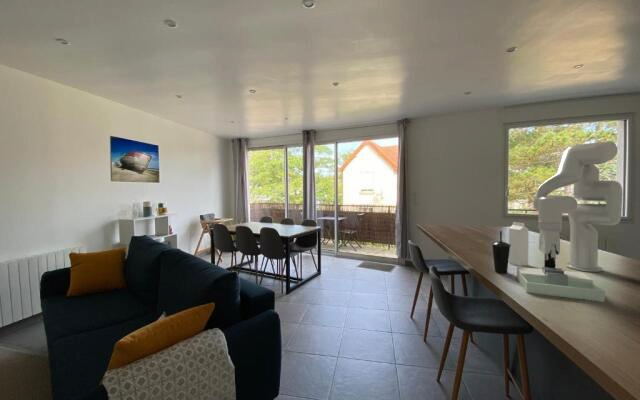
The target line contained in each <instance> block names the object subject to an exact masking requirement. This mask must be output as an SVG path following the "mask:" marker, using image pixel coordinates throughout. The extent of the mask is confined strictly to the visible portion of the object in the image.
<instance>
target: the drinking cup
mask: <svg viewBox="0 0 640 400" xmlns="http://www.w3.org/2000/svg"><path fill="white" fill-rule="evenodd" d="M502 232H503V231H502V230H500V231H499V241H497V240H496V241H494V242H491V248H492V257H493V266H494V272H495V273H497V274H508V267H509V251H510V246H511V245H510V244H509V242H506V241H503V233H502Z"/></svg>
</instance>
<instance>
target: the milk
mask: <svg viewBox="0 0 640 400" xmlns="http://www.w3.org/2000/svg"><path fill="white" fill-rule="evenodd" d="M508 244H510V245H511V246H510V251H509V260H508V264H511V265H515V266H517V267H524V266H528V265H529V228H528V227H526V225H525V223H524V222H517V221H513V222H512V225H510V226H509V228H508ZM523 265H524V266H523Z"/></svg>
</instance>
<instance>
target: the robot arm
mask: <svg viewBox="0 0 640 400" xmlns="http://www.w3.org/2000/svg"><path fill="white" fill-rule="evenodd" d="M617 154H618V145H617V144H616V143H615V142H614V141H609V140H608V141H599V142H590V143H582V144H574V145H571V146H569V147H567V148H566V149H565V150H563V152H562V154H561V157H560V158H559V162H558V165H557V168H556V170H555V174H554V175H553V176H551V177H550V178H548V179H547V180H545V181H544V182H542V183H541V184H540V186H539V187H538V188H537V189H536V192H535V195H534V197H533V202H532V207H533V209H534V210H535V211H537V212H538V220H537V221H538V222H537V223H538V228H537V229H538V230H539V236H538V238H539V239H538V250H539V251H540V252H541V253H543V254H544V260H543V262H544V266H543V267H549V268H556V258H557V256H559V255H560V254H561V239H560V238H561V236H560V235H561V234H560V232H562V231H563V214H567V215H568V216H567V217H568V221H569V228H570V230H569V232H570V233H569V234H570V235H569V240H570V241H569V243H570V244H569V261H568V262H566V263H565V266H566V268H569V269H572V270H575V271H579V272H589V273H590V272H591V273H598V272H602V271H603V267H601V266H599V263H598V262H599V232H598V231H597V229H596V228H595V227H594V226H593V225H602V226H615V225H618V224H619V223H620V222H621V220H622V209H623V207H622V206H623V187H622V184H621V183H620V182H619V181H616V180H600V169H599V168H598V167H597V166H596V165H602V164H606V163H608V162H609V161H612V160H614V159H615V157H616V156H617ZM570 185H573V196H570V195H550V194H551V193H552V192H554V191H556V190H559V189H561V188H565V187H567V186H570ZM577 200H578V201H583V203H578V201H577ZM584 201H587V202H605V203H585V202H584Z"/></svg>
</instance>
